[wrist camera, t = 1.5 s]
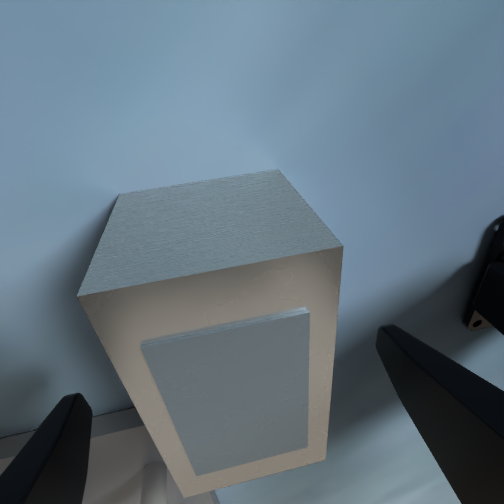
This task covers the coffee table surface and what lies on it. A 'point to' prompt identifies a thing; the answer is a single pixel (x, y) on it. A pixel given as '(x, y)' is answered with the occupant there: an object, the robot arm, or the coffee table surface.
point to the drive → (221, 323)
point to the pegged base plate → (120, 464)
